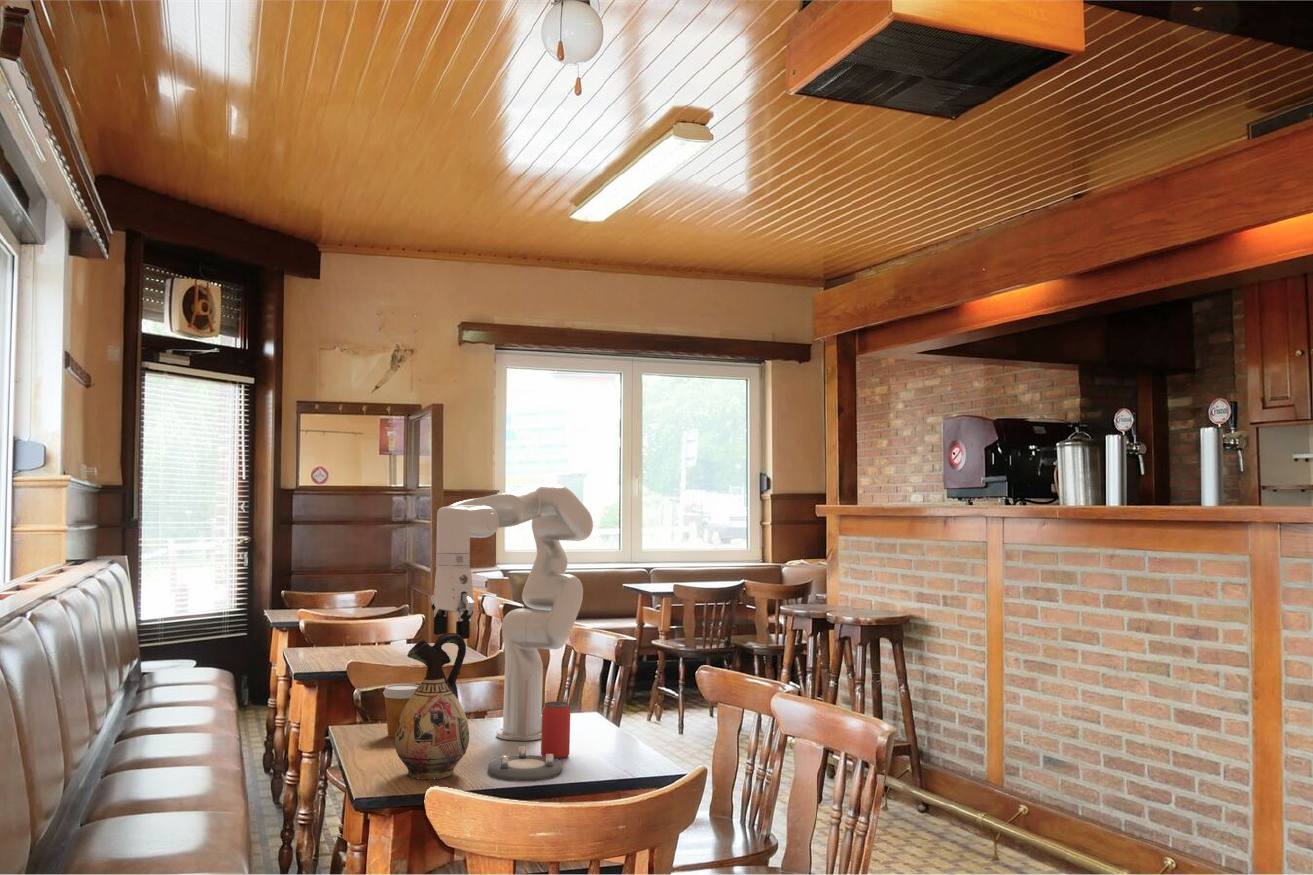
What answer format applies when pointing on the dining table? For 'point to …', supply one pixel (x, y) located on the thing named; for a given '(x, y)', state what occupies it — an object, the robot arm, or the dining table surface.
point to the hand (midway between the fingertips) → (451, 636)
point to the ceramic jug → (434, 715)
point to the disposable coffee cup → (396, 704)
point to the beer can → (555, 730)
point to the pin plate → (525, 768)
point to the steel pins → (522, 756)
